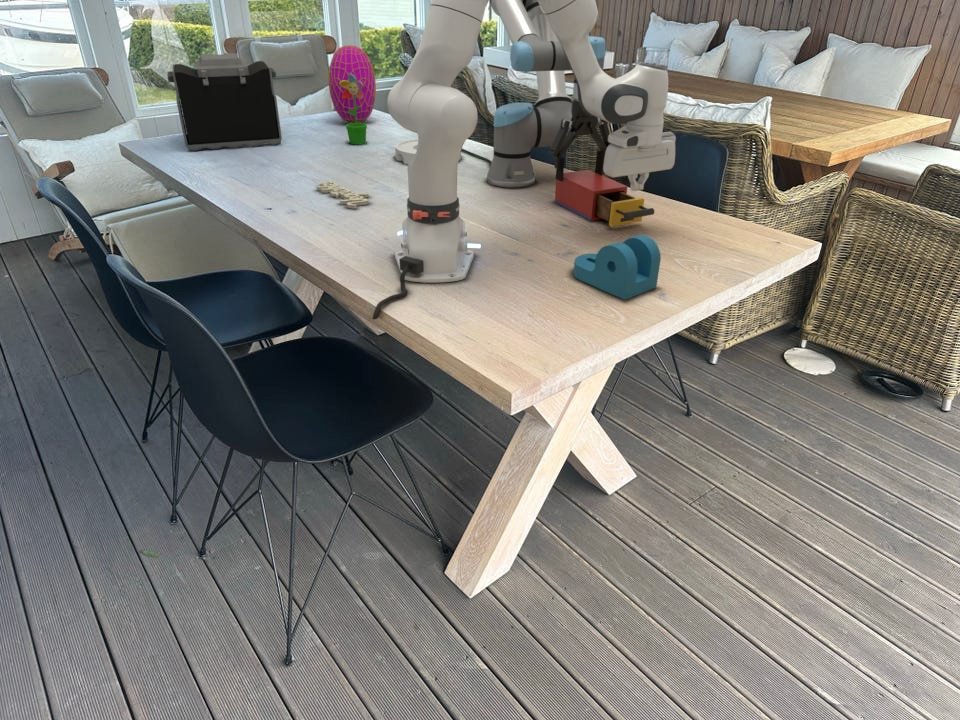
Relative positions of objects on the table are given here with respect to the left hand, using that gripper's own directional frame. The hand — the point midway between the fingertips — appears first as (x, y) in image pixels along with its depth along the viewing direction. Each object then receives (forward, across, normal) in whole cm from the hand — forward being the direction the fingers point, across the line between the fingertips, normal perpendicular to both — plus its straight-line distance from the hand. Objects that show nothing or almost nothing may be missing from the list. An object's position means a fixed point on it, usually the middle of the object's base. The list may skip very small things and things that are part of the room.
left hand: (636, 189), depth 176 cm
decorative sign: (+11, +59, -61) cm, 86 cm away
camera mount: (+11, +25, +24) cm, 37 cm away
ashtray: (+11, +19, -91) cm, 94 cm away
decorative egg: (+11, +24, -158) cm, 160 cm away
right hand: (+3, 0, -26) cm, 26 cm away
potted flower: (+11, +34, -123) cm, 128 cm away
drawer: (+10, 0, -8) cm, 13 cm away
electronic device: (+11, +77, -144) cm, 163 cm away
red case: (+11, 0, -20) cm, 22 cm away
